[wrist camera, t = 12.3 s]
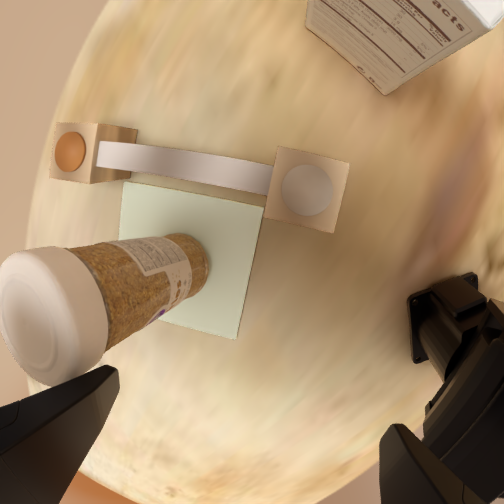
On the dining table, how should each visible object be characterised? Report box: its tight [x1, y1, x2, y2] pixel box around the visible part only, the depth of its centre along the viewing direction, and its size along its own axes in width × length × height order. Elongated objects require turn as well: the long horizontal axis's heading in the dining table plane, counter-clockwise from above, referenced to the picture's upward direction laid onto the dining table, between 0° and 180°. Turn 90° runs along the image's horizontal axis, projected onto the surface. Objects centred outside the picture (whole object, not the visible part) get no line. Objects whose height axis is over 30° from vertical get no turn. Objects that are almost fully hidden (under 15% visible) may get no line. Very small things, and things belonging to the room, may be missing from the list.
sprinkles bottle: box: [0, 233, 209, 387], centre depth 14 cm, size 5×5×13 cm
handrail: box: [49, 123, 350, 233], centre depth 16 cm, size 17×4×5 cm, turn 78°
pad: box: [118, 181, 264, 340], centre depth 21 cm, size 10×10×1 cm
